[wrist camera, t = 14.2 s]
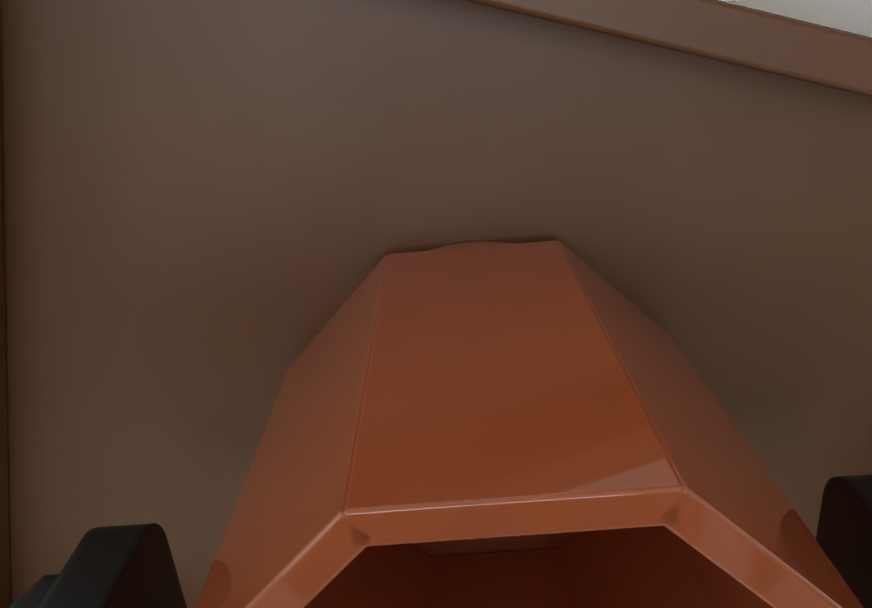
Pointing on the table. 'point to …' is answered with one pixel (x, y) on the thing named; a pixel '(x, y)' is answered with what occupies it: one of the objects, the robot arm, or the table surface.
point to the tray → (401, 221)
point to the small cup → (507, 457)
